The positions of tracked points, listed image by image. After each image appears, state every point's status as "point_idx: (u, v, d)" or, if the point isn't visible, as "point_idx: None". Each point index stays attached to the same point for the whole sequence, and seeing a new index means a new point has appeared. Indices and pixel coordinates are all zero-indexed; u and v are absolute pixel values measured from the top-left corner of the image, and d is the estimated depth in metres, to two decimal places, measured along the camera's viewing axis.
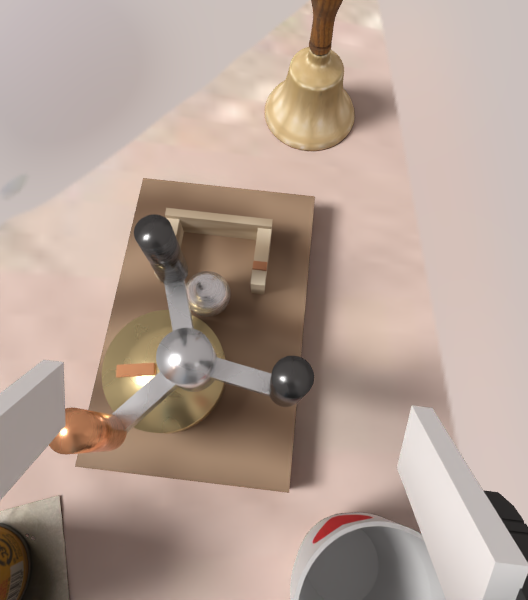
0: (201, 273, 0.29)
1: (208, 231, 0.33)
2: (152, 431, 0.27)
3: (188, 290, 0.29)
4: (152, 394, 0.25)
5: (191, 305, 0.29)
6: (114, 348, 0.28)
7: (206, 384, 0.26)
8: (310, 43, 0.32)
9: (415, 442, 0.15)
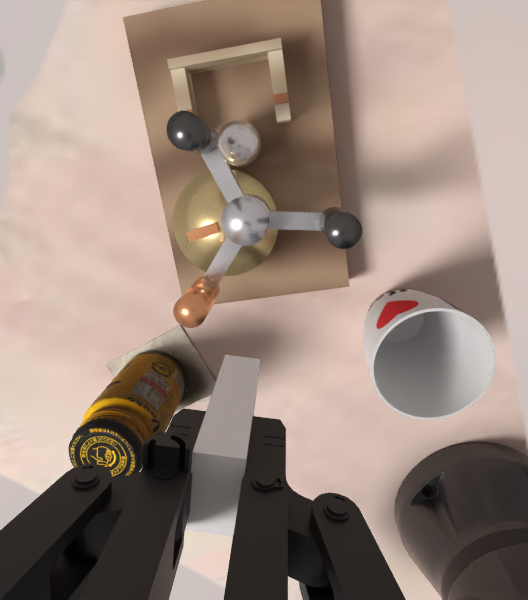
0: (228, 127, 0.29)
1: (216, 67, 0.31)
2: (234, 274, 0.33)
3: (221, 149, 0.30)
4: (228, 255, 0.30)
5: (229, 161, 0.31)
6: (178, 218, 0.32)
7: None
8: None
9: None
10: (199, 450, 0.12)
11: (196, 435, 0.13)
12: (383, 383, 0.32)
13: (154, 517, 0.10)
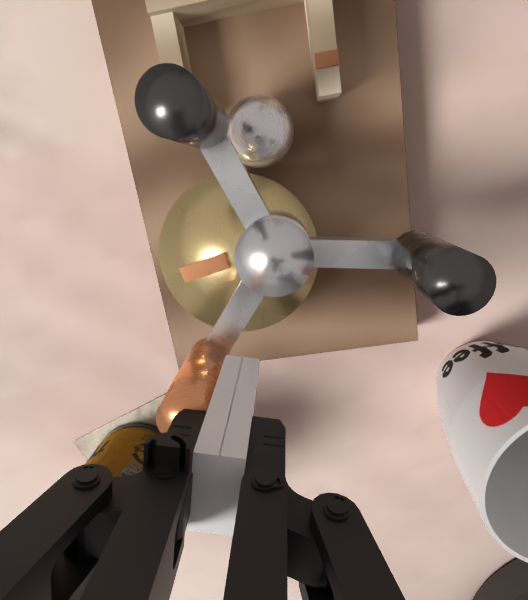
0: (243, 106, 0.19)
1: (222, 14, 0.20)
2: (252, 329, 0.22)
3: (233, 141, 0.19)
4: (244, 307, 0.19)
5: (244, 160, 0.20)
6: (166, 248, 0.21)
7: None
8: None
9: None
10: (200, 450, 0.12)
11: (197, 435, 0.13)
12: None
13: (155, 517, 0.10)
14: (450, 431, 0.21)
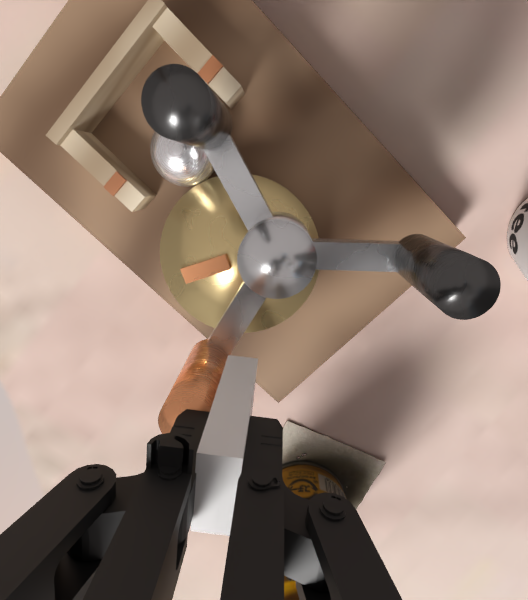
0: (155, 140, 0.19)
1: (111, 100, 0.21)
2: (252, 330, 0.22)
3: (167, 174, 0.19)
4: (246, 309, 0.19)
5: (188, 183, 0.20)
6: (168, 248, 0.21)
7: None
8: None
9: None
10: (203, 451, 0.12)
11: (200, 436, 0.13)
12: None
13: (158, 517, 0.10)
14: None
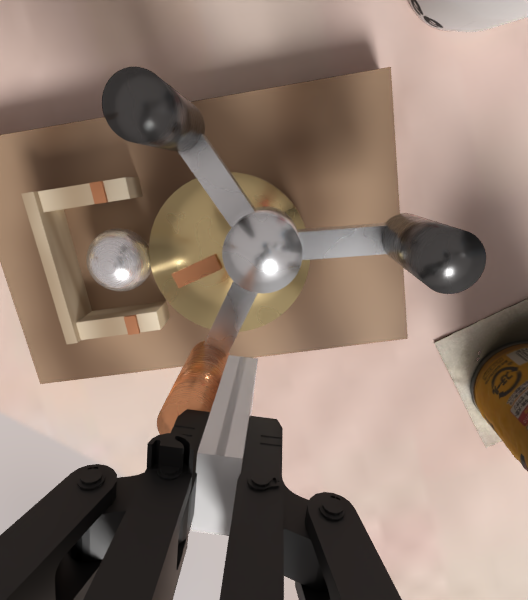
0: (94, 276, 0.21)
1: (78, 279, 0.23)
2: (250, 328, 0.22)
3: (123, 286, 0.21)
4: (239, 306, 0.19)
5: (142, 275, 0.21)
6: (157, 255, 0.21)
7: None
8: None
9: None
10: (204, 451, 0.12)
11: (200, 436, 0.13)
12: None
13: (158, 517, 0.10)
14: (505, 19, 0.16)
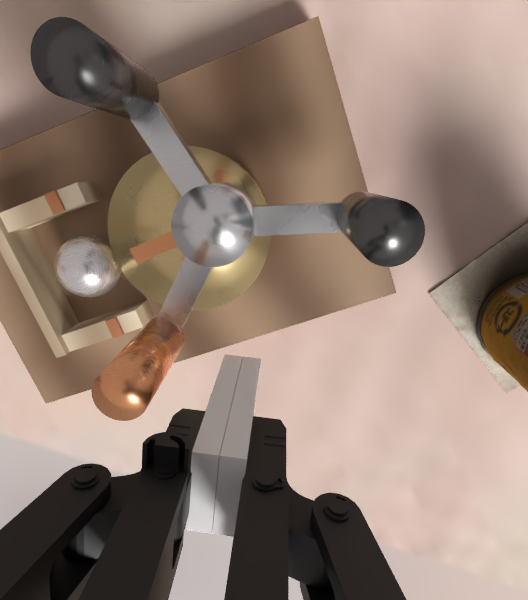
0: (64, 286, 0.21)
1: (58, 294, 0.24)
2: (209, 307, 0.22)
3: (94, 290, 0.21)
4: (192, 282, 0.19)
5: (111, 277, 0.21)
6: (115, 229, 0.21)
7: None
8: None
9: None
10: (198, 450, 0.12)
11: (195, 435, 0.13)
12: None
13: (153, 517, 0.10)
14: None
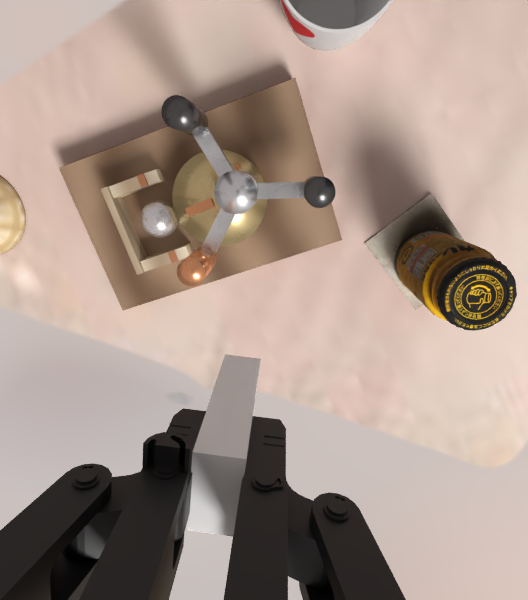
0: (146, 229, 0.36)
1: (136, 237, 0.39)
2: (230, 244, 0.37)
3: (163, 232, 0.36)
4: (222, 224, 0.34)
5: (173, 225, 0.36)
6: (177, 197, 0.36)
7: (255, 202, 0.35)
8: None
9: None
10: (199, 450, 0.12)
11: (196, 435, 0.13)
12: (381, 8, 0.29)
13: (154, 517, 0.10)
14: (340, 45, 0.31)
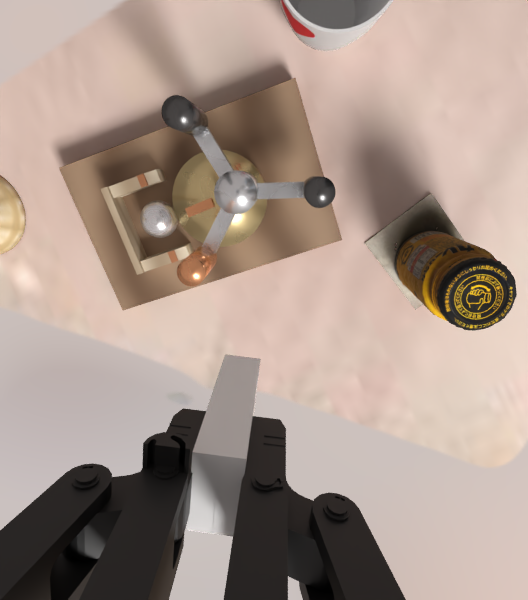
0: (146, 229, 0.36)
1: (136, 237, 0.39)
2: (230, 244, 0.37)
3: (163, 232, 0.36)
4: (222, 224, 0.34)
5: (173, 225, 0.36)
6: (177, 197, 0.36)
7: (255, 202, 0.35)
8: None
9: None
10: (199, 450, 0.12)
11: (196, 435, 0.13)
12: (381, 8, 0.29)
13: (154, 517, 0.10)
14: (340, 45, 0.31)
